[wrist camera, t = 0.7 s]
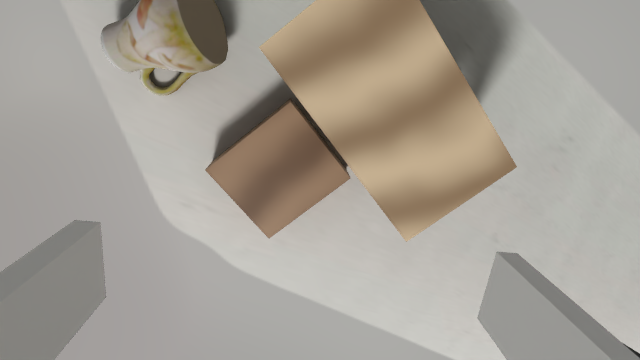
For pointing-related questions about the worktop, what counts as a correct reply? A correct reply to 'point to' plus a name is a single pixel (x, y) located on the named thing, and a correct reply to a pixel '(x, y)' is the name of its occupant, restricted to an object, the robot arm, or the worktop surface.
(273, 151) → the slab
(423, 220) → the shelf
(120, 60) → the mug
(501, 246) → the worktop surface
